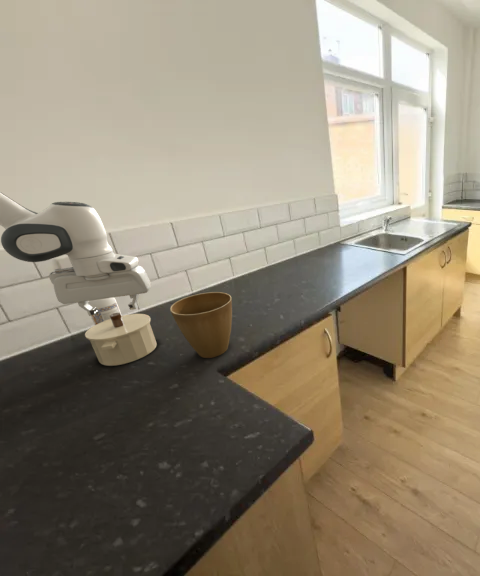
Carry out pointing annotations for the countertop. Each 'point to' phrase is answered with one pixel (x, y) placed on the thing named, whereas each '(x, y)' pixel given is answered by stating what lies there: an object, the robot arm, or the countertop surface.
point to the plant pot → (205, 322)
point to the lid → (117, 326)
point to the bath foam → (104, 309)
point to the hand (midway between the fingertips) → (114, 311)
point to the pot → (125, 347)
